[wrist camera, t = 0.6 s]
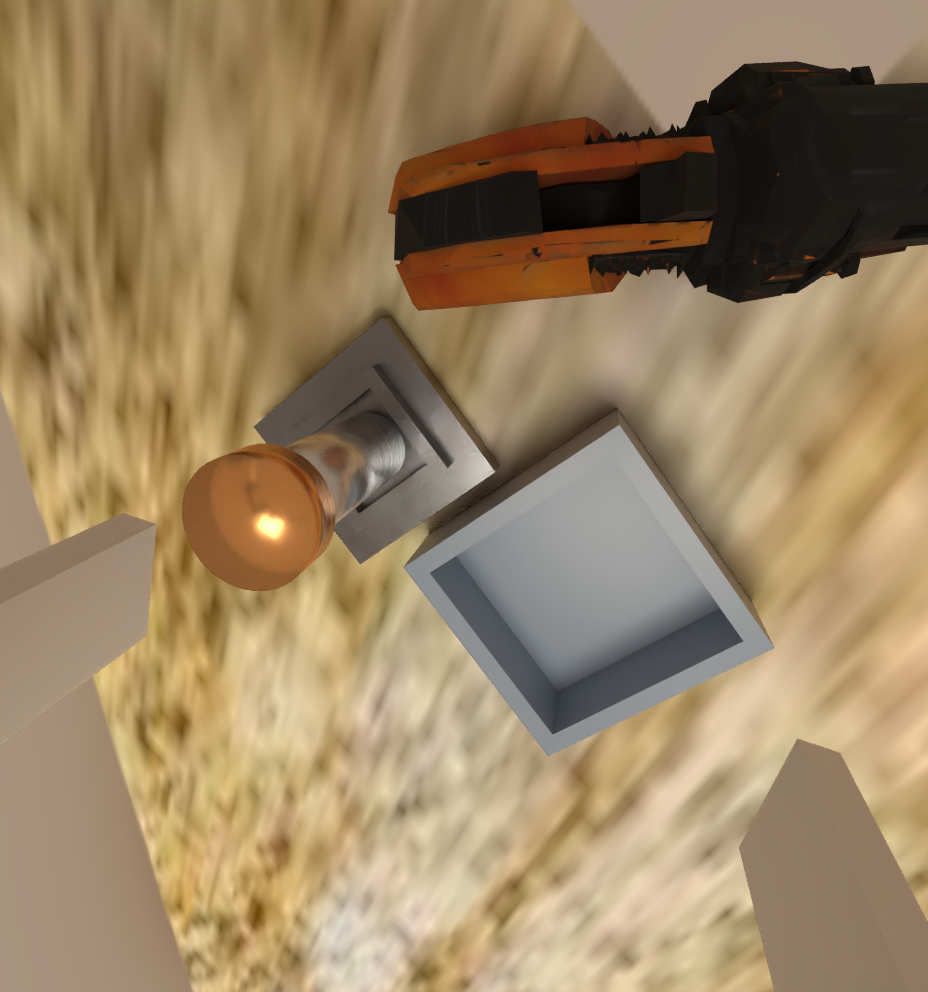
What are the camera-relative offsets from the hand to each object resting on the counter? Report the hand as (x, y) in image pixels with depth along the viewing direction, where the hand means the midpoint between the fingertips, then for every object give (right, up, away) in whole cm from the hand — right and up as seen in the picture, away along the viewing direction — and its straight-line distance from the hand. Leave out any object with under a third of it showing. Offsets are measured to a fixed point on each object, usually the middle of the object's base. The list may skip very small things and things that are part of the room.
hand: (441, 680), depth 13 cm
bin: (+7, 0, +24) cm, 25 cm away
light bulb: (-5, +6, +23) cm, 24 cm away
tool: (+10, +17, +18) cm, 27 cm away
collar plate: (-4, +7, +24) cm, 25 cm away
